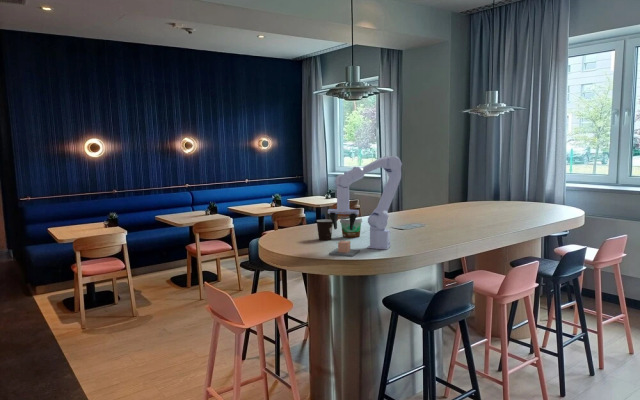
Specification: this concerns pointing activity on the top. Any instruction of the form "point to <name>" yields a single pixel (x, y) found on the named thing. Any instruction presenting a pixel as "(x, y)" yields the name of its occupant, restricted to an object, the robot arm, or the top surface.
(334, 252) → the mat
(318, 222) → the coffee mug
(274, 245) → the top surface
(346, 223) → the food container
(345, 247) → the cube
